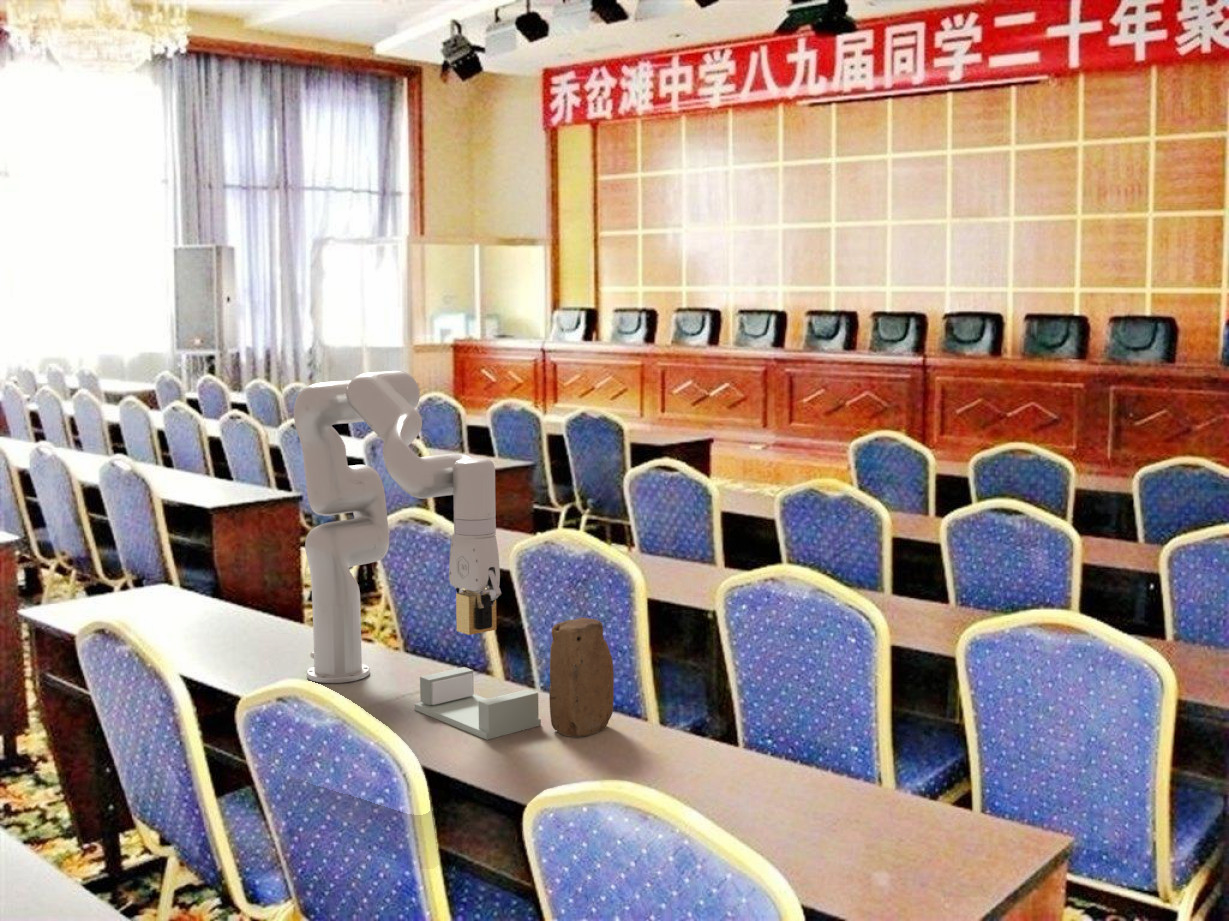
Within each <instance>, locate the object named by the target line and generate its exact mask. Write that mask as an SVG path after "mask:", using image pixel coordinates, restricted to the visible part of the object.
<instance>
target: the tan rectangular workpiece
mask: <svg viewBox="0 0 1229 921" xmlns="http://www.w3.org/2000/svg"><path fill="white" fill-rule="evenodd" d="M486 589H487V588H485V590H486ZM486 595H487V593H484V594H483V598H484V597H485V596H486ZM455 600H456V601H455V608H456V610H455V611H456V612H455V613H456V614H455V615H456V618H455V619H456V632H458V633H459V632H460V633H462V634H466V635H468V636H472V635H476V634H481V633H487V632H491V631H497V599H496V600H495V601H494V606H492V627H491V628H487V629H482V630H478V629H476V608H478V603H477V595H476V593H474V592H471V591H466V592H460V593H457V592H456V593H455Z"/></svg>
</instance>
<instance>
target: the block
mask: <svg viewBox="0 0 1229 921" xmlns="http://www.w3.org/2000/svg"><path fill="white" fill-rule="evenodd" d="M551 637H552V642H551V645H550V653H549V654H550V655H549V656H550V658H549V682H550V683H549V684H550V685H549V693H548V695H549V713H550V714H549V715H550V723H551V726H552V728H553V729H554V730H555V731H556V732H557V733H559V734H561V735H563V736H566V737H577V738H578V737H589V736H592V735H595V734H597V733H598V732H600V731H603V730H605V729H606V728H607V726H608V724H609V721H610V720H611V718H612V715H613V713H614V699H615V698H614V696H615V695H614V694H615V693H614V690H615V689H614V688H615V687H614V686H615V685H614V684H615V682H614V679H615V678H614V676H615V675H614V662H613V657H612V653H611V652H610V648H609V646H608V643H607V641H606V640H605V638H604V626H603V623H602V622H601V621H600V620H599V619H595V618H588V617H582V616H581V617H578V618H575V619H567V620H565V621H561V622H558V623H556V624H554V625H553V626H552V628H551Z"/></svg>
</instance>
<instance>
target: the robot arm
mask: <svg viewBox="0 0 1229 921" xmlns="http://www.w3.org/2000/svg"><path fill="white" fill-rule="evenodd" d="M420 396H421V394H420V388H419V385H418V383H417V380H415V378H414V377H413V376H411V375H410V373H407V372H405V371H401V370H391V371H390V370H387V371H386V370H385V371H372V372H365V373H364V372H363V373H361V374H359V375H356V376H355V377H353V379H351V380H335V381H325V382H317V383H313V384H310V385H307V387H304V388H303V389H302V390H300V392H299V393H298V395H297V396H296V398H295V402H294V404H293V418H294V419H293V420H294V425H295V429H296V432H297V434H298V438H299V442H300V446H301V449H302V457H303V469H304V475H305V476H304V477H305V486H306V494H307V495H306V496H307V500H308V504H309V507H310V509H311V511H312V512H314V513H315V514H316V515H318V516H335V515H336V516H337V515H344V514H350V513H351V514H352V513H353V518H350V519H342V520H336V521H329V522H325V523H322V524H320V525H317V526H314V527H313V528H312V529H311V530H310V531H309V532H308V534H307V535H306V538H305V544H304V546H305V547H304V548H305V550H304V551H305V556H306V558H307V565H308V567H309V568H308V569H309V574H310V583H311V602H312V604H311V605H312V632H313V633H312V634H313V651H312V652H311V653H310V655H309V656H310V658H311V659H312V660H313V666H312V667H309V668H308V669H307V670H306V678H307V679H308V680H310V681H312V682H315V681H316V682H315V683H320V684H321V683H323V684H342V683H343V684H344V683H350V682H356V681H359V680H362V679H364V678H367V677H368V676H369V675H370V673H371V668H370V667H369V666H368V664H366V663H363V662H362V661H363V660H362V659H363V657H362V621H361V620H362V615H361V614H362V613H361V592H360V586H359V584H358V582H357V580H356V578H355V577H354V575H353V574H352V572H351V570H350V568H352V567H356V566H362V565H367V564H371V563H372V564H373V563H376V562H378V561H381V560H382V559H383V558H385V556H386V555H387V553H388V550H389V548H390V532H389V531H390V530H389V522H388V511H387V501H386V494H385V486H384V483H383V480H382V478H381V476H380V474H379V472H378V471H377V470H376V469H375V468H373V467H372V466H369V465H366V464H355V465H348V458H347V449H346V445H345V442H344V440H343V438H342V436H340V434H339V432H338V431H337V430H336V429H335V428H334V427H333V425H334V426H335V425H340V424H341V425H342V424H355V423H363V422H364V423H365V424H366V425H367V426H368V427H369V428H370V429H371V430H372V431H373V432H374V433H375V434H376V435H377V436H378V437H379V438H380V440H382V442H383V446H382V456H383V457H382V458H383V462H384V466H385V469H386V471H387V473H388V475H389V476H390V477H391V479H393V480H394V481H395V482H396V484H397V485H398V486H399V487H400V488H401V489H402V490H403V491H404V492H406V493H407V494H408V495H409V496H411V497H413V498H416V499H422V500H423V499H431V498H437V497H446V496H453V533H452V537H451V541H450V547H449V548H450V549H449V550H450V551H449V564H448V566H449V568H448V569H449V570H448V573H449V574H448V576H449V577H448V578H449V580H448V581H449V583H450V585H451V586H452V587H454V588H455V591H456V593H460V592H466V591H471V592H474V593H476V595H477V603H478V608H476V629H478V630H482V629H487V628H491V627H492V606H494V601H495V600H496V601H497V599H498V598H499V597H500V596H502V591H501V588H500V580H501V579H500V578H501V573H500V572H501V571H500V570H501V568H500V557H499V548H498V542H497V536H496V535H497V533H496V532H497V524H496V522H497V521H496V519H497V518H496V515H497V514H496V509H497V508H496V465H495V464H494V462H493V461H492V460H491V459H488V458H482V457H471V456H469V455H467V454H464V453H445V454H435V455H427V456H421V457H420V456H418V454H417V453H415V451H413V450H412V448H410V447H409V446H410V445H411V444H412V443H413V442H414V441H416V438H417V437H418V436H419V434H420V432H421V430H422V426H423V419H422V416H421V414H420V412H418V411H417V409H416V408H417V406H418V405H419V403H420V399H421V397H420ZM485 589H486V590H485ZM484 593H487V595H486V596H485V597H484V598H483V594H484Z"/></svg>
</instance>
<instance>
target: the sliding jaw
mask: <svg viewBox="0 0 1229 921" xmlns="http://www.w3.org/2000/svg"><path fill="white" fill-rule="evenodd" d="M419 687H420V690H419V694H420V696H419V697H420V702H423V703H425V704H428V705H435V704H439V703H444V702H448V701H452V700H456V699H461V698H465V697H469V696H473V695H474V694H475V693H474V691H475V690H474V689H475V688H474V669H472V668H471V669H470V668H468V667H465V666H462V667H459V668H454V669H448V670H445V671H440V672H435V673H432V674H431V673H430V674H426V675H422V676H419Z"/></svg>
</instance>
